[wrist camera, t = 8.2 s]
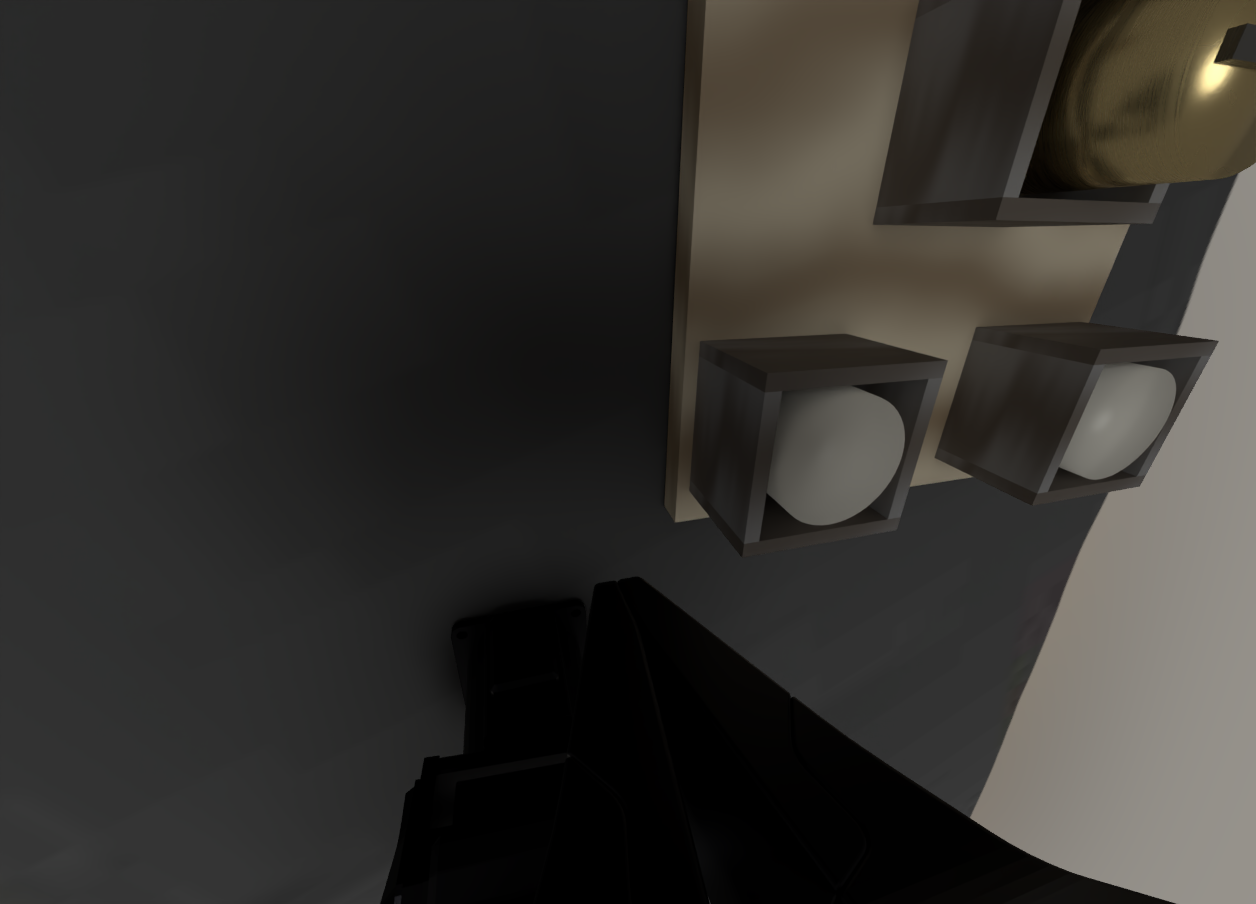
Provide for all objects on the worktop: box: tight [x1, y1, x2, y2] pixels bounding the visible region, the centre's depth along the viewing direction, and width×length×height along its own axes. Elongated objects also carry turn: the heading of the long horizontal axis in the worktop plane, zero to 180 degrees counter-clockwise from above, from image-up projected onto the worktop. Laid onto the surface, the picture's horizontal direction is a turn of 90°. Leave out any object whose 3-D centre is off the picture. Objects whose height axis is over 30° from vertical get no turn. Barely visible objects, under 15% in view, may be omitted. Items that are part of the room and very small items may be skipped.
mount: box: [664, 0, 1218, 558], centre depth 18 cm, size 20×22×6 cm
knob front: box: [767, 386, 905, 525], centre depth 18 cm, size 5×5×5 cm
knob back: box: [1059, 362, 1176, 480], centre depth 21 cm, size 5×5×5 cm
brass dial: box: [1019, 0, 1256, 195], centre depth 13 cm, size 5×5×5 cm
